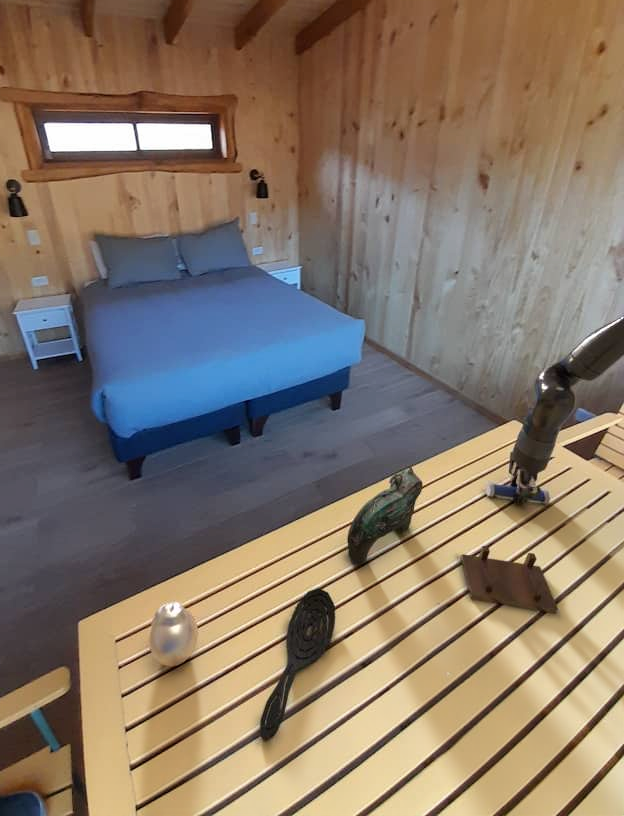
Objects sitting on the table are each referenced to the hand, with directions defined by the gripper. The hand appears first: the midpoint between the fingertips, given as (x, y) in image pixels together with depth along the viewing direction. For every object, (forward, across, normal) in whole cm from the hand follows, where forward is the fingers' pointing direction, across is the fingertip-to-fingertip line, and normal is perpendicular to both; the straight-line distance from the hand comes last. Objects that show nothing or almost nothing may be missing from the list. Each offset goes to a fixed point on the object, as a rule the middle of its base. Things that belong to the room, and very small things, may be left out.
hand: (514, 497), depth 105 cm
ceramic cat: (0, -20, +35) cm, 40 cm away
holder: (0, -25, +10) cm, 27 cm away
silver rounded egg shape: (0, -49, +75) cm, 90 cm away
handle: (0, 0, 0) cm, 0 cm away
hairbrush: (0, -47, +52) cm, 70 cm away
